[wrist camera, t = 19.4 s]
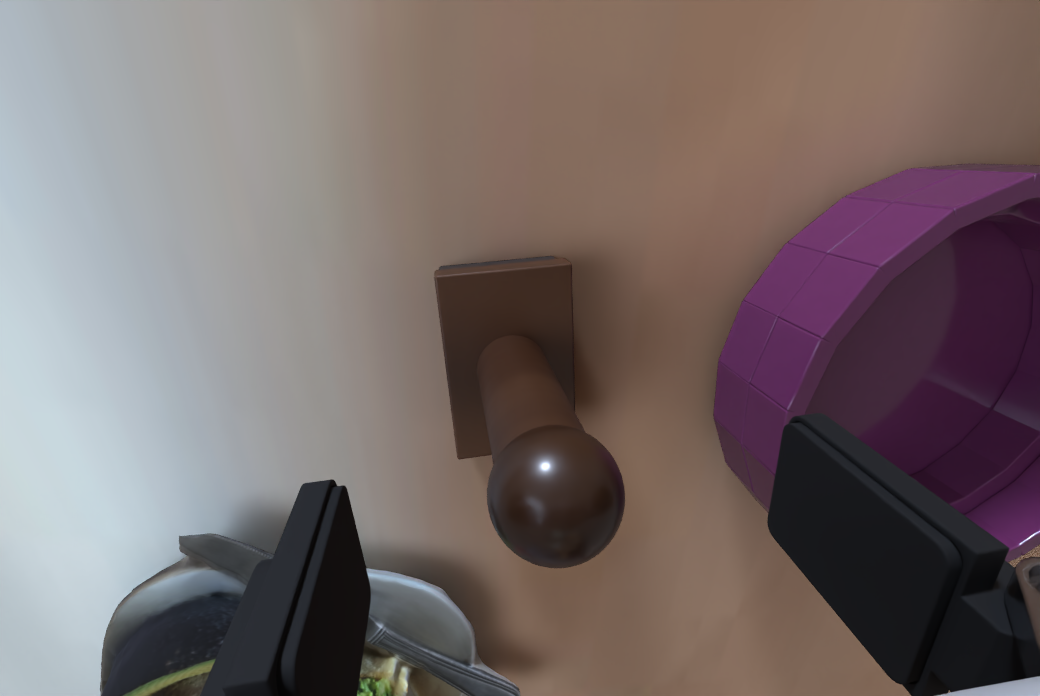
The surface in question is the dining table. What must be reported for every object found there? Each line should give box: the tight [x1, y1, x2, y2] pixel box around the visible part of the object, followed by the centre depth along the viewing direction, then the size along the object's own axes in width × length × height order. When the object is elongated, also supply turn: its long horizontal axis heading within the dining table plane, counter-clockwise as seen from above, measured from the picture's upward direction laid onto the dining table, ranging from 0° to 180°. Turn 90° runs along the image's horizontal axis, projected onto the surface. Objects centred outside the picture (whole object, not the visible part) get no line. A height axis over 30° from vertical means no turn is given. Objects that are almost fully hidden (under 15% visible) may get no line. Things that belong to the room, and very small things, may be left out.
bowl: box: [713, 164, 1040, 562], centre depth 22 cm, size 18×18×6 cm
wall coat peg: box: [434, 256, 625, 568], centre depth 16 cm, size 7×5×12 cm, turn 4°
